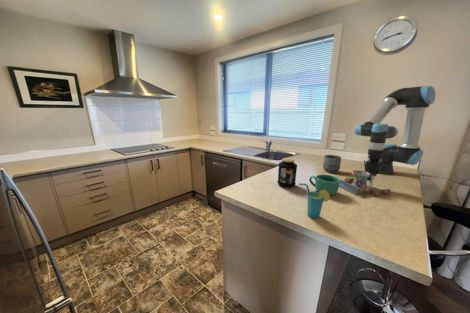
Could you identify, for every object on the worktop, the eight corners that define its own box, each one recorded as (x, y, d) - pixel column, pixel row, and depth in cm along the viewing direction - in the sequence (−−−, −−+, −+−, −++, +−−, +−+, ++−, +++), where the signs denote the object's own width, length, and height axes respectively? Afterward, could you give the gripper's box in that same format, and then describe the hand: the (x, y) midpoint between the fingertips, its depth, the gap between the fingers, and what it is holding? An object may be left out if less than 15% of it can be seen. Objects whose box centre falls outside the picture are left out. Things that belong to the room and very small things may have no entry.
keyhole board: (359, 181, 129) (360, 175, 128) (389, 194, 108) (391, 187, 107) (333, 183, 124) (334, 177, 123) (360, 197, 104) (361, 190, 103)
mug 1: (340, 192, 111) (342, 177, 108) (333, 199, 102) (336, 183, 100) (312, 185, 122) (314, 171, 120) (304, 190, 113) (306, 176, 111)
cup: (293, 213, 87) (296, 184, 84) (298, 207, 93) (301, 179, 90) (325, 224, 79) (330, 192, 76) (328, 216, 85) (333, 186, 82)
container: (299, 184, 122) (300, 158, 118) (290, 190, 113) (292, 162, 109) (282, 180, 130) (283, 156, 126) (273, 185, 121) (274, 159, 117)
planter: (339, 170, 152) (341, 156, 149) (338, 174, 142) (340, 159, 139) (323, 168, 158) (325, 154, 155) (321, 172, 148) (323, 157, 145)
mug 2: (369, 192, 109) (373, 176, 107) (352, 190, 112) (355, 174, 110) (363, 185, 120) (366, 169, 118) (347, 183, 123) (350, 168, 120)
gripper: (378, 147, 117) (372, 181, 122) (361, 148, 114) (355, 183, 120) (390, 149, 110) (383, 186, 115) (372, 150, 107) (366, 188, 113)
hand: (369, 184), depth 118 cm, fingers closed
